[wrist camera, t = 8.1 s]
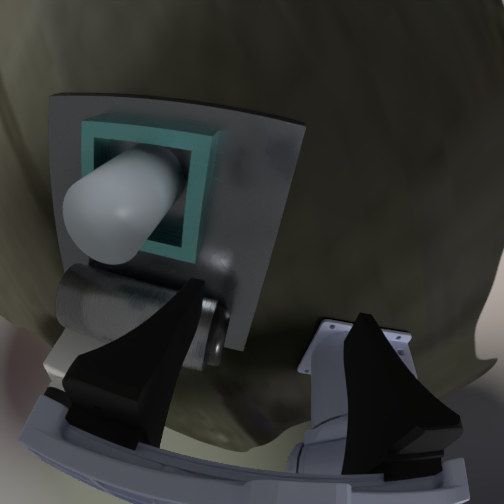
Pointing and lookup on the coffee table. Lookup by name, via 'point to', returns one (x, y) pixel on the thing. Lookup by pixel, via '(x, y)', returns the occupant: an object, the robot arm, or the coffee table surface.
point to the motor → (175, 213)
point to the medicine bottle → (66, 361)
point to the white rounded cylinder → (122, 202)
